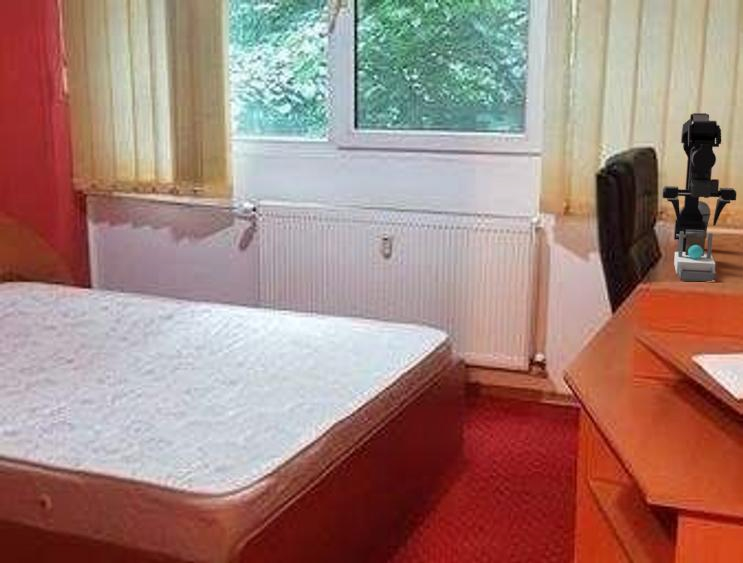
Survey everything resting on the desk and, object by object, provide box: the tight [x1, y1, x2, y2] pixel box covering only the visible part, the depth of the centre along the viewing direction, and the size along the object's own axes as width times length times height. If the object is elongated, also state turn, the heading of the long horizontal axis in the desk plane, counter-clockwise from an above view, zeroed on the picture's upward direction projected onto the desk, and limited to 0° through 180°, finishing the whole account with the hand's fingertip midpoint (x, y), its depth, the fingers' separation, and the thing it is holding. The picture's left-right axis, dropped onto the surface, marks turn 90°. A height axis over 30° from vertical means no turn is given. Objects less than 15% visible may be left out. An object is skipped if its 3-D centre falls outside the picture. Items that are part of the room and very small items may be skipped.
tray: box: [678, 266, 717, 282], centre depth 255 cm, size 9×9×2 cm
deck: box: [673, 231, 716, 275], centre depth 267 cm, size 17×10×11 cm, turn 165°
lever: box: [685, 229, 708, 256], centre depth 269 cm, size 5×6×7 cm
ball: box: [688, 245, 703, 259], centre depth 265 cm, size 4×4×4 cm
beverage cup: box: [698, 200, 711, 233], centre depth 300 cm, size 7×7×20 cm
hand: (696, 224), depth 255 cm, fingers open, 9 cm apart
